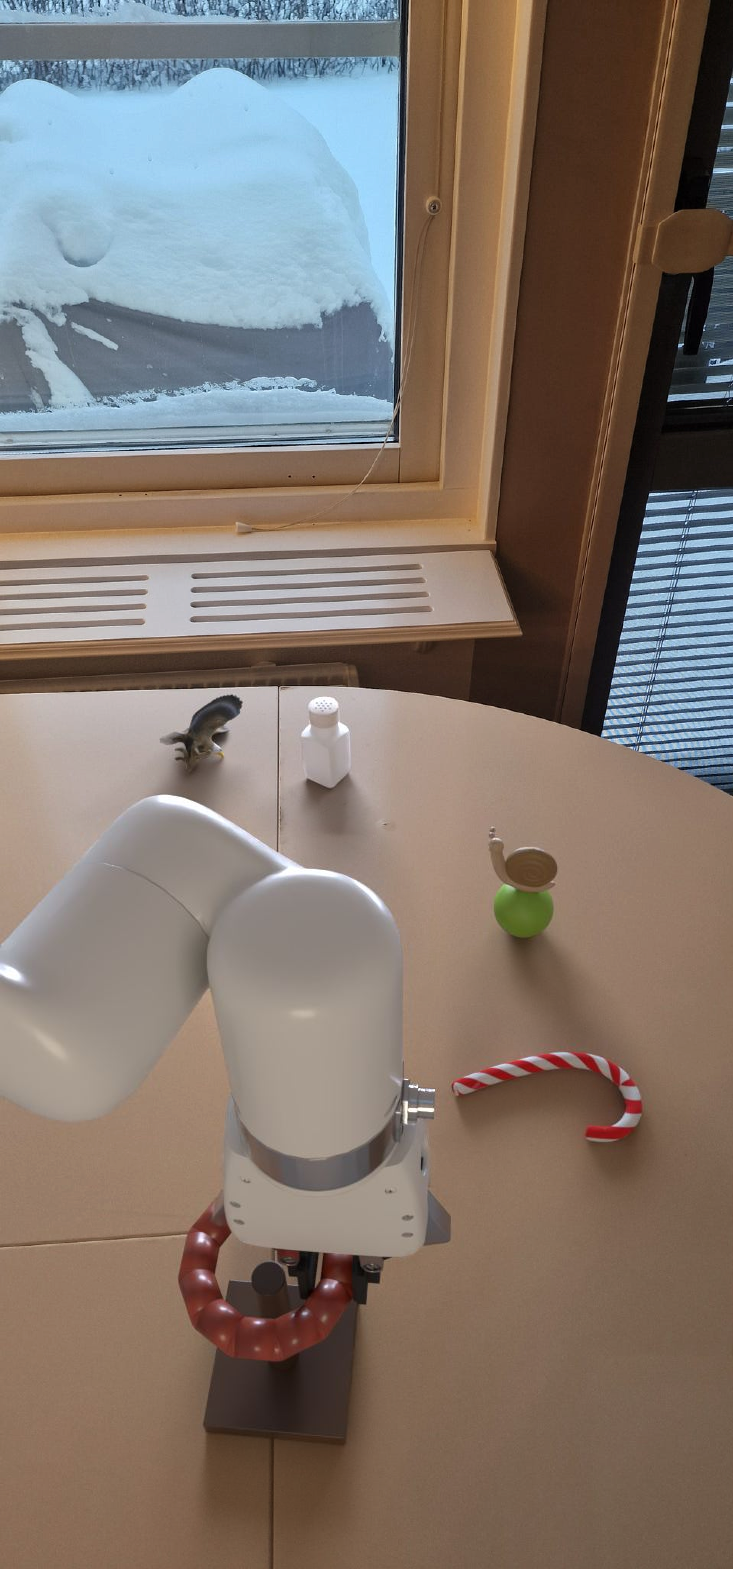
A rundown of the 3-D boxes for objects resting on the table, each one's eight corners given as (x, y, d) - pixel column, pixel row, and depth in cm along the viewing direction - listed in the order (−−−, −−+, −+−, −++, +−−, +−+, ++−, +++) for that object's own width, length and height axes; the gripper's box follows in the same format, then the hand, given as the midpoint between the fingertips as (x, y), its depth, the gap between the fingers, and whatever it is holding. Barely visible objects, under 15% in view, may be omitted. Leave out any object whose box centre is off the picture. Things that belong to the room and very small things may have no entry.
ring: (165, 1357, 56) (159, 1343, 55) (202, 1182, 63) (198, 1166, 62) (349, 1373, 55) (347, 1359, 54) (364, 1193, 63) (363, 1177, 61)
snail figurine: (484, 899, 99) (492, 808, 91) (552, 908, 98) (566, 817, 90) (477, 943, 95) (485, 852, 87) (548, 953, 94) (562, 862, 86)
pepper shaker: (302, 778, 113) (296, 709, 106) (323, 758, 115) (319, 689, 109) (331, 791, 111) (327, 722, 104) (353, 771, 113) (350, 702, 107)
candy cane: (450, 1048, 85) (633, 1049, 85) (449, 1057, 86) (630, 1058, 86) (454, 1135, 80) (650, 1136, 79) (453, 1143, 80) (647, 1145, 80)
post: (205, 1432, 66) (174, 1354, 57) (231, 1287, 73) (207, 1196, 64) (345, 1445, 65) (336, 1368, 56) (358, 1298, 72) (353, 1208, 63)
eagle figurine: (235, 775, 111) (259, 713, 117) (190, 734, 107) (217, 672, 113) (187, 789, 116) (213, 729, 121) (142, 750, 112) (171, 690, 117)
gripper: (498, 1042, 49) (478, 1221, 61) (163, 1021, 50) (210, 1201, 62) (499, 1195, 43) (477, 1358, 56) (123, 1167, 44) (183, 1333, 57)
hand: (336, 1273), depth 59 cm, fingers closed on ring, 2 cm apart
